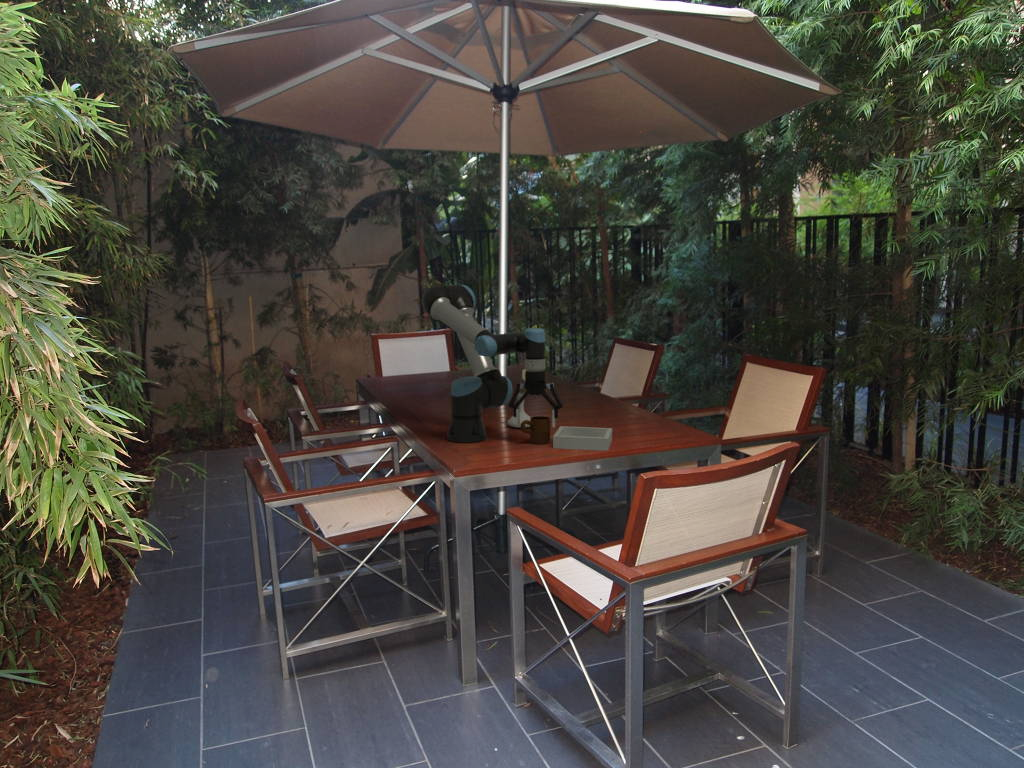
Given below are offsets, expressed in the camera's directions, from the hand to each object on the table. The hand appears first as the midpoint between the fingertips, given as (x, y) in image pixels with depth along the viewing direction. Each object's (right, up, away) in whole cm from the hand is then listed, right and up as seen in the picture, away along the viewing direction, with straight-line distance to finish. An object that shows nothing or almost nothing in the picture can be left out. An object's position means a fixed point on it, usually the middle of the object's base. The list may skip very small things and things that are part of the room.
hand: (535, 426), depth 301 cm
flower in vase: (-4, -2, +30) cm, 31 cm away
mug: (0, -7, +1) cm, 7 cm away
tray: (+18, -7, 0) cm, 19 cm away
